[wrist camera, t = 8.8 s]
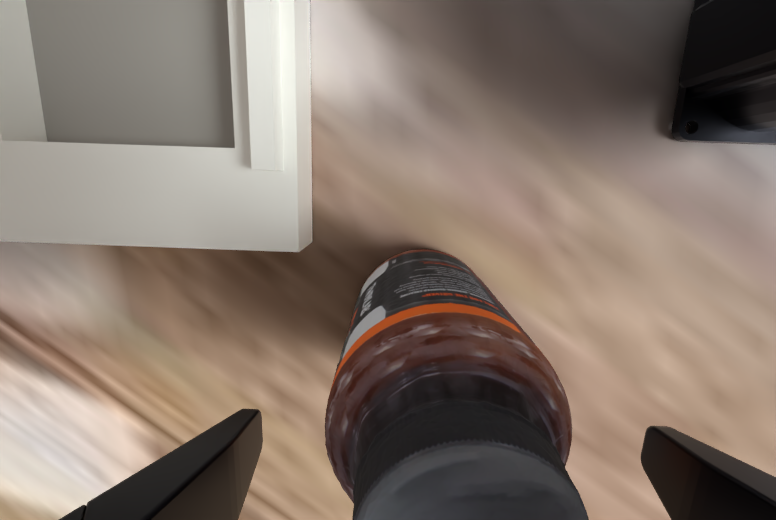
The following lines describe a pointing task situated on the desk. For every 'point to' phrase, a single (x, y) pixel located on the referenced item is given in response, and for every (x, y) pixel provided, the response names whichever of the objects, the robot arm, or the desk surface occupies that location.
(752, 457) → the desk surface
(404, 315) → the supplement bottle
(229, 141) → the board
